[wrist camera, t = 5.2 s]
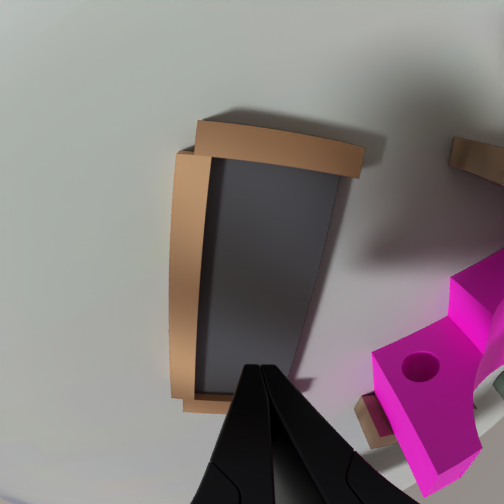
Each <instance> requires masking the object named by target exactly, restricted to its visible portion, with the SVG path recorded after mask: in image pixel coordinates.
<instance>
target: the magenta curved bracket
mask: <svg viewBox="0 0 504 504" xmlns="http://www.w3.org/2000/svg"><path fill="white" fill-rule="evenodd" d="M372 363H373V376H374V392H375V396H376V398H377V400H378V402H379V404H380V406H381V408H382V410H383V412H384V414H385V416H386V418H387V420H388V422H389V424H390V426H391V428H392V430H393V432H394V434H395V436H396V438H397V440H398V443H399V445H400V447H401V449H402V451H403V453H404V455H405V457H406V459H407V462H408V464H409V466H410V468H411V470H412V472H413V475H414V477H415V479H416V481H417V484H418V486H419V488H420V490H421V492H422V494H423V497H424V498H425V497H427V496H429V495H431V494H433V493H435V492H436V491H438V490H440V489H442V488H444V487H445V486H447V485H449V484H451V483H452V482H454V481H456V480H457V479H459V478H461V477H462V475H463V474H464V473H465V472H466V470H467V469H468V467H469V466H470V465H471V463H472V462H473V461H474V460H475V458H476V457H477V455H478V454H479V452H480V451H481V450H482V445H481V443H480V440H479V437H478V433H477V429H476V426H475V420H474V412H473V392H474V390H475V389H476V388H477V387H478V385H479V384H480V383H481V382H482V381H483V380H484V379H485V378H486V377H487V376H488V375H489V374H490V373H492V372H493V371H494V370H496V369H497V368H499V367H500V366H502V365H504V248H503V249H502V250H500V251H498V252H496V253H495V254H493V255H491V256H489V257H487V258H486V259H484V260H482V261H480V262H478V263H476V264H475V265H473V266H471V267H469V268H467V269H465V270H463V271H461V272H459V273H457V274H455V275H453V276H452V277H450V295H449V308H448V316H446V317H445V318H443V319H441V320H439V321H437V322H435V323H433V324H431V325H429V326H427V327H425V328H423V329H421V330H419V331H417V332H415V333H413V334H411V335H409V336H407V337H405V338H402V339H400V340H398V341H396V342H394V343H392V344H389V345H387V346H385V347H383V348H380V349H378V350H376V351H373V352H372Z"/></svg>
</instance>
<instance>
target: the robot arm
mask: <svg viewBox="0 0 504 504" xmlns="http://www.w3.org/2000/svg"><path fill="white" fill-rule="evenodd" d="M190 504H419V503H418V502H417V501H415V500H414V499H412V498H411V497H409V496H408V495H407V494H405V493H404V492H403V491H401V490H400V489H398V488H397V487H396V486H394V485H393V484H392V483H391V482H389V481H388V480H387V479H386V478H384V477H383V476H382V475H381V474H379V473H378V472H377V471H376V470H375V469H374V468H373V467H372V466H371V465H370V464H368V463H367V462H366V461H365V460H364V459H363V458H362V457H361V456H360V455H359V454H358V453H357V452H356V451H354V449H353V448H352V447H351V446H350V445H349V444H348V443H347V442H346V441H345V440H344V439H343V437H342V436H341V435H340V434H339V433H338V432H337V431H336V430H335V429H334V428H333V427H332V426H331V425H330V424H329V423H328V422H327V421H326V420H325V419H324V417H323V416H322V415H321V414H320V413H319V412H318V411H317V410H316V409H315V408H314V407H313V406H312V405H311V403H310V402H309V401H308V400H307V399H306V398H305V397H304V396H303V395H302V394H301V392H300V391H299V390H298V389H297V388H296V387H295V386H294V385H293V384H292V382H291V381H290V380H289V379H288V378H287V377H286V376H285V375H284V373H283V372H282V371H281V370H280V369H279V368H278V367H277V366H276V365H275V364H262V365H258V364H245V365H244V366H243V369H242V372H241V375H240V378H239V381H238V383H237V386H236V389H235V392H234V395H233V398H232V401H231V403H230V406H229V409H228V412H227V415H226V417H225V420H224V423H223V426H222V428H221V431H220V434H219V437H218V439H217V442H216V445H215V448H214V450H213V453H212V456H211V458H210V462H209V463H208V466H207V469H206V471H205V474H204V476H203V479H202V481H201V483H200V486H199V488H198V490H197V492H196V494H195V496H194V498H193V500H192V501H191V503H190Z"/></svg>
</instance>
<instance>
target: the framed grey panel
mask: <svg viewBox="0 0 504 504" xmlns="http://www.w3.org/2000/svg"><path fill="white" fill-rule="evenodd" d="M364 153H365V148H364V147H360V146H356V145H352V144H348V143H343V142H339V141H334V140H329V139H325V138H320V137H315V136H310V135H304V134H299V133H293V132H287V131H281V130H275V129H269V128H262V127H255V126H247V125H240V124H231V123H222V122H212V121H201V120H198V123H197V131H196V140H195V149H194V151H181V150H180V151H179V152H178V153H177V154H176V161H175V172H174V184H173V198H172V214H171V233H170V259H169V354H170V380H171V398H177V399H183V412H194V413H211V414H227V412H228V409H229V406H230V403H231V401H232V398H233V395H234V392H235V389H236V386H237V383H238V381H239V378H240V375H241V372H242V369H243V366H244V365H245V364H258V365H262V364H275V365H276V366H277V367H278V368H279V369H280V370H281V371H282V372H283V373H284V375H285V376H286V377H287V378H288V375H289V371H290V368H291V365H292V362H293V359H294V355H295V352H296V349H297V345H298V342H299V339H300V335H301V332H302V328H303V325H304V321H305V318H306V314H307V311H308V307H309V304H310V300H311V296H312V292H313V289H314V285H315V281H316V277H317V273H318V269H319V266H320V262H321V257H322V253H323V249H324V245H325V241H326V237H327V233H328V228H329V224H330V219H331V215H332V210H333V206H334V201H335V197H336V192H337V187H338V182H339V177H340V175H342V176H348V177H353V178H358V179H359V177H360V173H361V168H362V163H363V158H364ZM449 165H450V166H453V167H456V168H458V169H461V170H464V171H466V172H469V173H471V174H474V175H476V176H479V177H481V178H483V179H486V180H488V181H491V182H493V183H495V184H497V185H500V186H502V187H504V148H501V147H497V146H493V145H489V144H485V143H481V142H476V141H472V140H467V139H462V138H458V137H454V140H453V146H452V151H451V156H450V161H449ZM493 386H494V388H495V389H496V390H497V392H498V393H499V394H500V395H501V397H502V398H503V399H504V371H503V372H502V373H501V374H500V375H499V376H498V377H497V379H496V380H495V382H494V384H493ZM476 409H477V408H476V406H475V405H474V403H473V412H474V411H475V410H476ZM354 411H355V413H356V415H357V418H358V420H359V422H360V425H361V427H362V430H363V432H364V434H365V437H366V439H367V442H368V444H369V446H370V449H374V448H378V447H383V446H387V445H391V444H395V443H398V440H397V438H396V436H395V434H394V432H393V430H392V428H391V426H390V424H389V422H388V420H387V418H386V416H385V414H384V412H383V410H382V408H381V406H380V404H379V402H378V400H377V398H376V396H375V395H367V396H361V398H360V400H359V401H358V403H357V405H356V406H355V408H354Z"/></svg>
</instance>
